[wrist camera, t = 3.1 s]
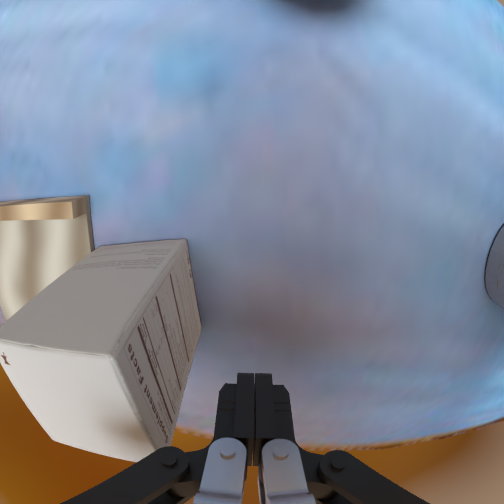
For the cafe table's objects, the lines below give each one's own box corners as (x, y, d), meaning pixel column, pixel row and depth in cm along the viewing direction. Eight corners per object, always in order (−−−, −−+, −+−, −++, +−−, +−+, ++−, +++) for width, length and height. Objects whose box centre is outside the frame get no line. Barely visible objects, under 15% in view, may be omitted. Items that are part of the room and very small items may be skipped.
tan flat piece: (89, 195, 19) (71, 201, 16) (115, 352, 23) (105, 369, 21) (-18, 203, 19) (-34, 209, 16) (12, 327, 23) (0, 338, 21)
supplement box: (120, 327, 22) (49, 441, 10) (98, 243, 20) (-18, 334, 8) (204, 328, 22) (168, 471, 10) (190, 236, 20) (109, 356, 8)
